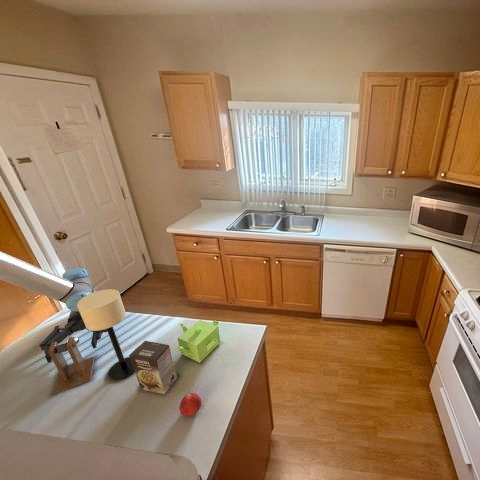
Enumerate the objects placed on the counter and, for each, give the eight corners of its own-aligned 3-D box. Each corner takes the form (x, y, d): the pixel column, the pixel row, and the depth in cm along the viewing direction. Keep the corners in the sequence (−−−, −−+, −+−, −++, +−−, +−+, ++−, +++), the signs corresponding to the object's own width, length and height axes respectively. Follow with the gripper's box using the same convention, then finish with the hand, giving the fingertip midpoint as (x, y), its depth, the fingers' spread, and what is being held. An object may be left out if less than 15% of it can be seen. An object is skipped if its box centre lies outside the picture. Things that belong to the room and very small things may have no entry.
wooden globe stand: (62, 369, 89) (46, 338, 83) (95, 359, 93) (82, 328, 87) (54, 395, 80) (35, 362, 74) (91, 382, 85) (76, 350, 79)
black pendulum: (68, 348, 90) (66, 338, 90) (81, 344, 92) (79, 334, 92) (54, 357, 79) (52, 345, 79) (70, 352, 81) (67, 341, 81)
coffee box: (140, 391, 83) (127, 355, 76) (155, 374, 89) (144, 339, 82) (165, 396, 82) (154, 360, 75) (178, 378, 88) (169, 344, 81)
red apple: (185, 426, 74) (180, 409, 71) (179, 411, 78) (174, 393, 75) (205, 413, 78) (201, 396, 74) (199, 399, 81) (195, 382, 78)
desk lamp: (103, 372, 88) (72, 299, 76) (135, 354, 96) (112, 285, 83) (113, 389, 83) (82, 314, 71) (147, 368, 91) (124, 297, 78)
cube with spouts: (179, 372, 90) (173, 348, 85) (180, 343, 102) (175, 321, 97) (224, 358, 96) (220, 336, 91) (220, 333, 108) (217, 312, 103)
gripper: (120, 312, 111) (117, 346, 94) (45, 332, 99) (27, 375, 82) (115, 298, 108) (111, 331, 91) (38, 317, 96) (17, 358, 79)
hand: (71, 352), depth 87 cm, fingers open, 11 cm apart
